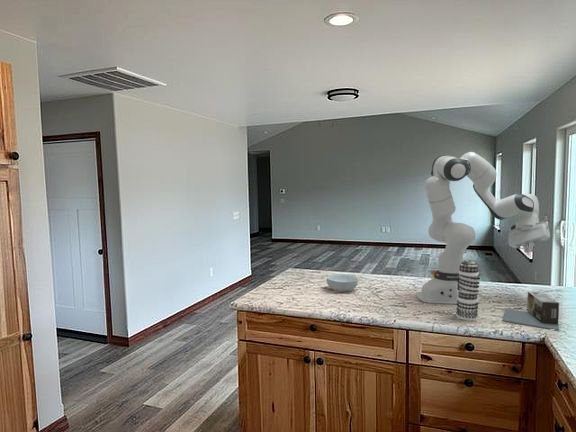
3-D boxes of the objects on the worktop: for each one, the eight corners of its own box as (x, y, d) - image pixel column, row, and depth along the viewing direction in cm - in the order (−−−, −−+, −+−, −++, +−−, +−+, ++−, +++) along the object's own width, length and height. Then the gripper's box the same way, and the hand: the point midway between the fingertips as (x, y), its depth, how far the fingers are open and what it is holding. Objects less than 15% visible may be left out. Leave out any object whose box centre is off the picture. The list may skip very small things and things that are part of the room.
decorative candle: (483, 320, 169) (485, 262, 167) (462, 321, 169) (464, 263, 166) (471, 313, 178) (473, 258, 176) (451, 313, 178) (453, 258, 175)
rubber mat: (558, 331, 157) (559, 329, 157) (501, 321, 168) (502, 320, 168) (557, 317, 173) (557, 316, 172) (505, 309, 183) (505, 308, 183)
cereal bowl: (322, 292, 212) (322, 279, 211) (331, 284, 227) (331, 272, 227) (354, 296, 206) (354, 282, 205) (360, 287, 221) (360, 275, 220)
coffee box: (541, 311, 179) (558, 324, 163) (526, 310, 180) (541, 323, 164) (543, 291, 178) (560, 303, 162) (527, 291, 179) (542, 302, 163)
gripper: (553, 222, 186) (553, 249, 180) (516, 232, 204) (515, 258, 199) (543, 217, 184) (543, 244, 179) (506, 228, 202) (505, 254, 197)
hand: (528, 251), depth 189 cm, fingers closed
